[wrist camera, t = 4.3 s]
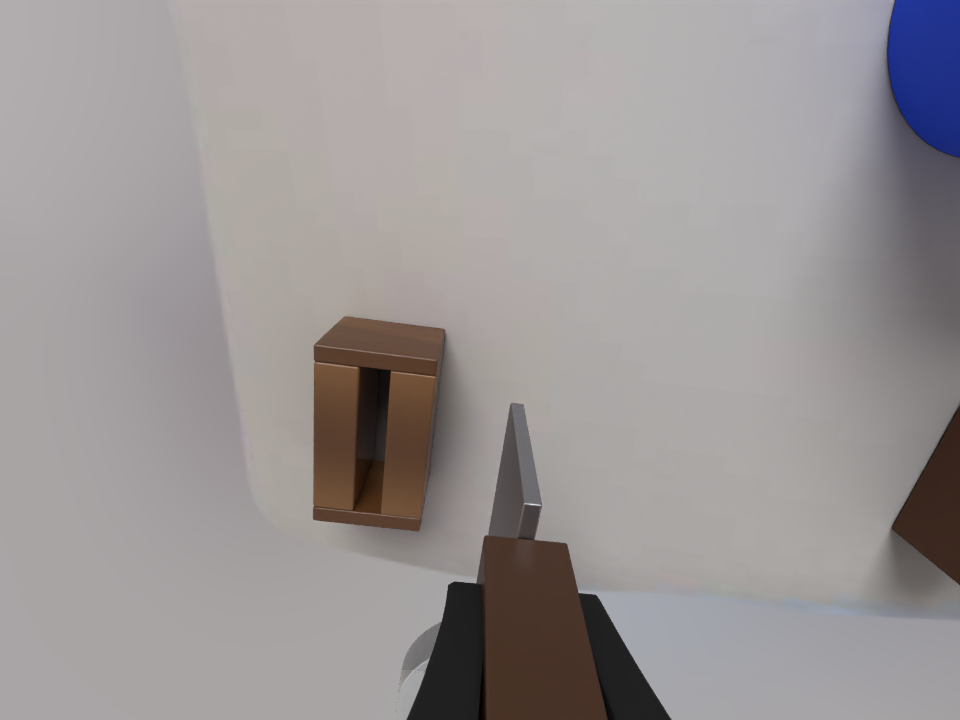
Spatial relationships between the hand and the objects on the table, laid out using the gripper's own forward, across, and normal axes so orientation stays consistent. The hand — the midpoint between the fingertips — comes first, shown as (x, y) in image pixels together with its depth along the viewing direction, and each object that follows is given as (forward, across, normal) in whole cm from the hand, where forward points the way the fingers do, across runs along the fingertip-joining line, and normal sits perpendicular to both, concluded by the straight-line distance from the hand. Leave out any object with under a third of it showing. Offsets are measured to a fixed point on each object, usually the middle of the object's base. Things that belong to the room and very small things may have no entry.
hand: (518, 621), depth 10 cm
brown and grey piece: (+5, 0, 0) cm, 5 cm away
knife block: (+10, +5, +1) cm, 11 cm away
